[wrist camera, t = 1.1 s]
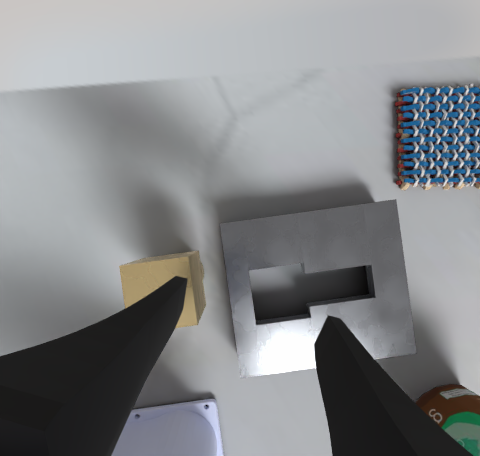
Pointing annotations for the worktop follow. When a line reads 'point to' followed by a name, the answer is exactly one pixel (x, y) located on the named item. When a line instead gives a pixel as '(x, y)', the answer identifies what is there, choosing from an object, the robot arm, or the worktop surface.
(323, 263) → the keyhole plate
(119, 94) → the worktop surface
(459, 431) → the food container
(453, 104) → the woven mat
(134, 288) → the brass peg
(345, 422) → the robot arm
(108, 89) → the worktop surface
